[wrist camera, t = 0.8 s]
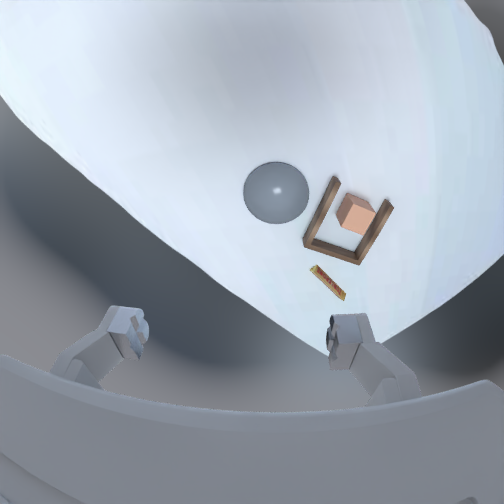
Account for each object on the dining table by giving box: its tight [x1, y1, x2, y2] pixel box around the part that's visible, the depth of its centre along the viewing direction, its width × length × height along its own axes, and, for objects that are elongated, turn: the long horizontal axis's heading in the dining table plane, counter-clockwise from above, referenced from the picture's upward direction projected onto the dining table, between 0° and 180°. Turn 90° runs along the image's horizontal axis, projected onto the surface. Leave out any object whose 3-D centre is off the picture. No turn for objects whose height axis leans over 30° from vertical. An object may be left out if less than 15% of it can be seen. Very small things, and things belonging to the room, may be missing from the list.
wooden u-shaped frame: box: [303, 176, 394, 265], centre depth 52 cm, size 14×13×3 cm
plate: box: [244, 162, 309, 224], centre depth 51 cm, size 12×12×1 cm
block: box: [336, 193, 376, 235], centre depth 50 cm, size 5×5×5 cm
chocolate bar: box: [310, 265, 346, 301], centre depth 62 cm, size 3×12×2 cm, turn 45°
